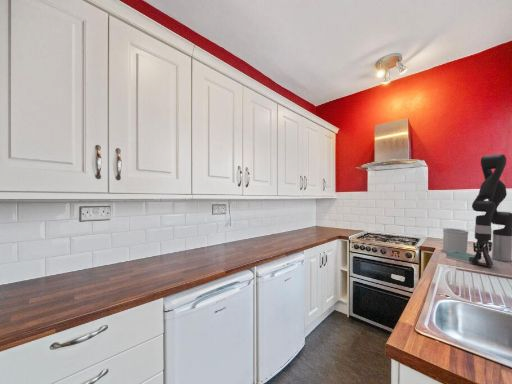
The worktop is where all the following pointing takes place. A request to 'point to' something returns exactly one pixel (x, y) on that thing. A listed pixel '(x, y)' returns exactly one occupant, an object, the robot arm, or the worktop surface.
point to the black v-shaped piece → (486, 257)
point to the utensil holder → (455, 240)
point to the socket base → (460, 256)
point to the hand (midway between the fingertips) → (482, 258)
